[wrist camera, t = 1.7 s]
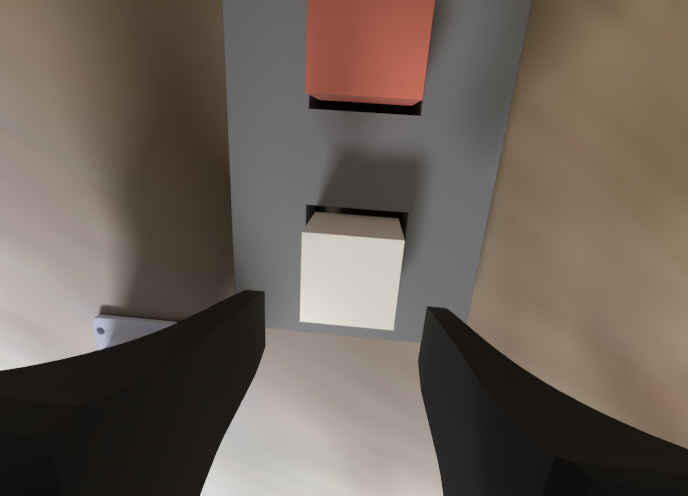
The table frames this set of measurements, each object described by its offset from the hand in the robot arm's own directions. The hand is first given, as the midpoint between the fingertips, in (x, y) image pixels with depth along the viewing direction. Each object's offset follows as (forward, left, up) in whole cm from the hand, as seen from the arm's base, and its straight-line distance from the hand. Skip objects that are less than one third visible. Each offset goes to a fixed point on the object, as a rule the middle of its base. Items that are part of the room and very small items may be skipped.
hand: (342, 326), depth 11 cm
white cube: (0, 0, -7) cm, 7 cm away
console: (+5, 0, -9) cm, 10 cm away
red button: (+9, 0, -7) cm, 11 cm away
